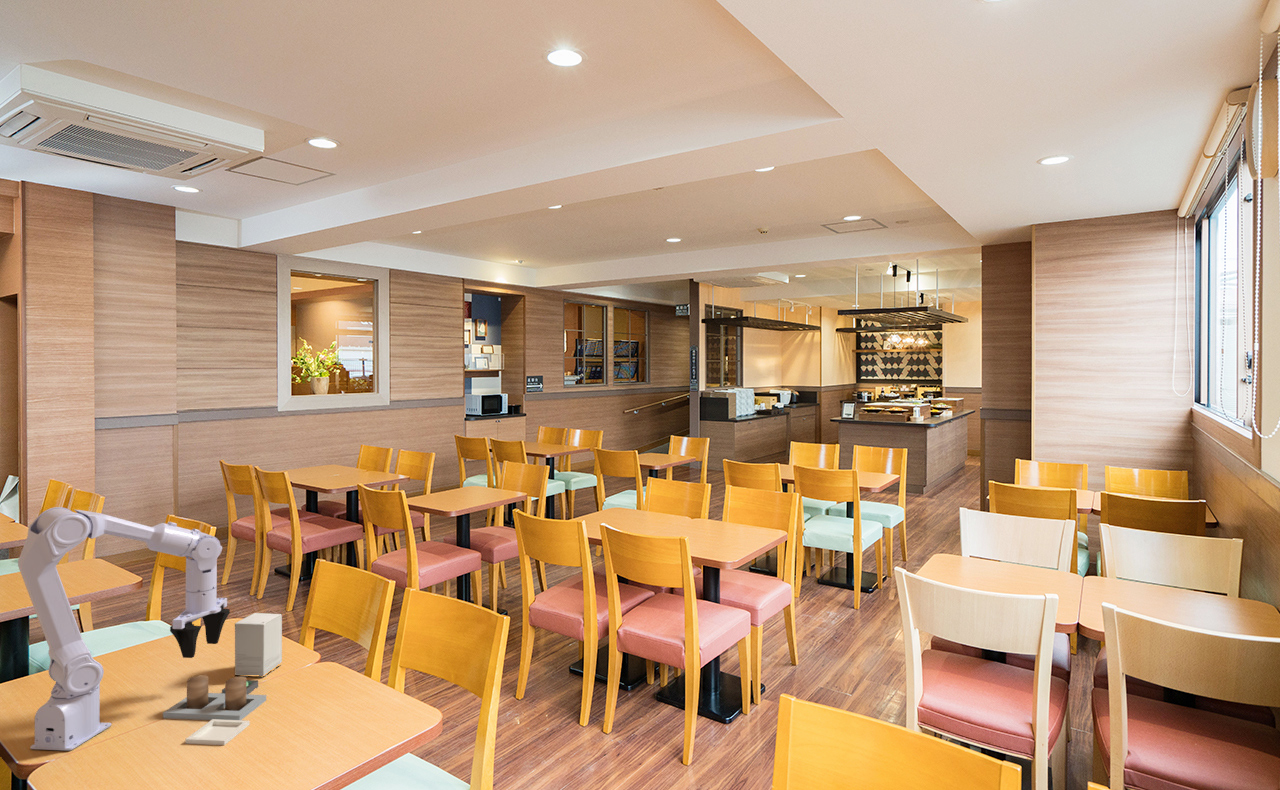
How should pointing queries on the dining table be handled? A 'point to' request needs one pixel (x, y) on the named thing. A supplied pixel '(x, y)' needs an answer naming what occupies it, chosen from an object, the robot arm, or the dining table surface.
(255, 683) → the switch box
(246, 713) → the grey frame
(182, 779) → the dining table surface
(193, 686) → the cylinder
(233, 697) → the cylinder
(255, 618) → the supplement box
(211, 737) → the white square tray
